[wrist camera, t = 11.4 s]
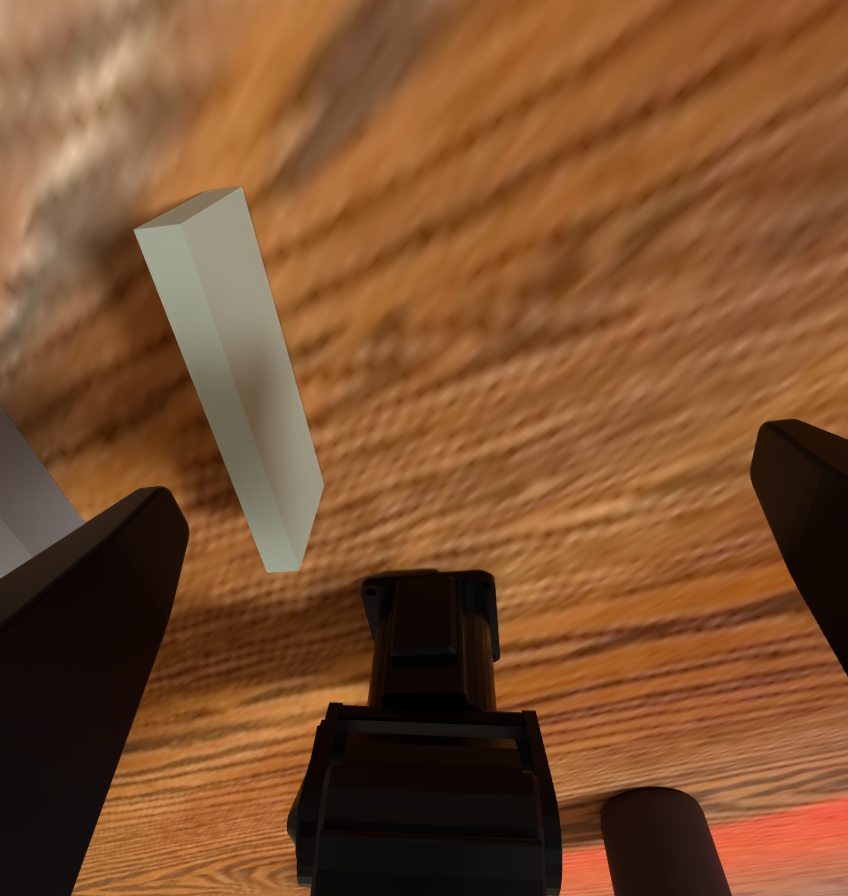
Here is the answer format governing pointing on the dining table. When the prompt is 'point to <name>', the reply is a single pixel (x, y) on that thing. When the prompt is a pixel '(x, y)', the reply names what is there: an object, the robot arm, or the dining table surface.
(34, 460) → the offcut upper
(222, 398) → the panel
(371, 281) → the dining table surface
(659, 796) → the wine bottle
